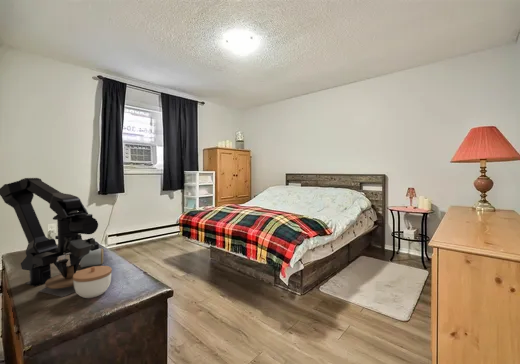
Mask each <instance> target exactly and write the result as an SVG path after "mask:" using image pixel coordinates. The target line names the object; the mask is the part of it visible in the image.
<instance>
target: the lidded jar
mask: <svg viewBox="0 0 520 364" xmlns="http://www.w3.org/2000/svg"><path fill="white" fill-rule="evenodd" d="M77 271H78V272H76V273H75V274H74V275H73V284H74V289H75V293H76V294H77V295H78V296H80V297H82V298H84V299H92V298H96V297H99V296H101V295H103V294H104V293H105V292H106V291H107V290H108V289H109V286H110V284H111V281H112V271H113V269H112V267H111V266H109V265H95V266H89V267H85V268H83V269H80V271H79V270H77Z"/></svg>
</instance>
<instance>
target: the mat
mask: <svg viewBox="0 0 520 364" xmlns="http://www.w3.org/2000/svg"><path fill="white" fill-rule="evenodd" d="M39 292H41V293H44V294H45V293H46V294H49V295H53V296H56V297H61V298H63V297H66V296H68V295H70V294H73V293H76V291H75V289H74V286H71V287H66V288H59V289H51V288H47V287H45V288H43V289H40V290H39Z"/></svg>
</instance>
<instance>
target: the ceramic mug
mask: <svg viewBox="0 0 520 364" xmlns="http://www.w3.org/2000/svg"><path fill="white" fill-rule="evenodd" d="M103 264H104V249H103V248H100V247H99V249H97V250H94V251H91V250H90V252H89V254H87V255H85V256H84V257H83V258H82V259H81V261H80V263H79V265H80V268H83V269H84V268H90V267H93V266H94V267H95V266H101V265H103Z"/></svg>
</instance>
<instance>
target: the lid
mask: <svg viewBox="0 0 520 364" xmlns="http://www.w3.org/2000/svg"><path fill="white" fill-rule="evenodd" d="M80 270H81V269H80ZM80 270H77V271H76V272H78V271H80ZM73 275H74V265H71V264H70V265H67V277H66V278H64V277H63V276H62V274H61V273H60V274H56V275H53V276H51V277H52V278H50V279H48V280H47V281H46V282H45V283H44V284H45V286H44V287H45V288H51V289H59V288H66V287H71V286H74V284H73Z"/></svg>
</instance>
